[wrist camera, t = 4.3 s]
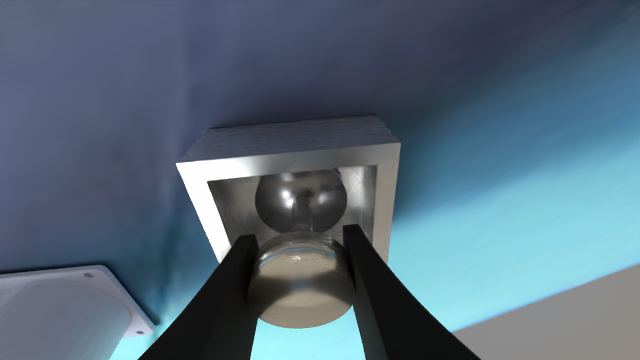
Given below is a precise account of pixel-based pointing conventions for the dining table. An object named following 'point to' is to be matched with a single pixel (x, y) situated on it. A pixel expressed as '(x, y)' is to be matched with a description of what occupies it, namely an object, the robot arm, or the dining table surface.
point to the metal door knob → (301, 251)
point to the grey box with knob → (285, 157)
